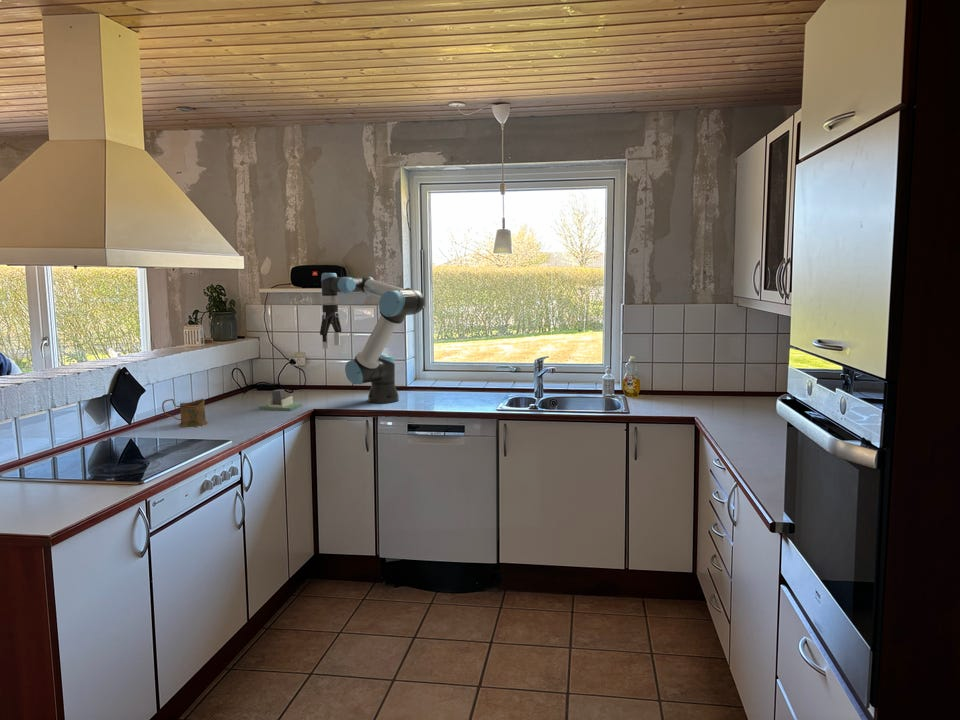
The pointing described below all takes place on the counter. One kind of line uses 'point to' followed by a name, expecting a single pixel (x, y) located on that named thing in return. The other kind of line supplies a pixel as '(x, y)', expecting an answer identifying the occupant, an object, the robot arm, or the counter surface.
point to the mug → (191, 413)
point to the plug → (278, 396)
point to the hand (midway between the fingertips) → (331, 346)
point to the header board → (285, 405)
